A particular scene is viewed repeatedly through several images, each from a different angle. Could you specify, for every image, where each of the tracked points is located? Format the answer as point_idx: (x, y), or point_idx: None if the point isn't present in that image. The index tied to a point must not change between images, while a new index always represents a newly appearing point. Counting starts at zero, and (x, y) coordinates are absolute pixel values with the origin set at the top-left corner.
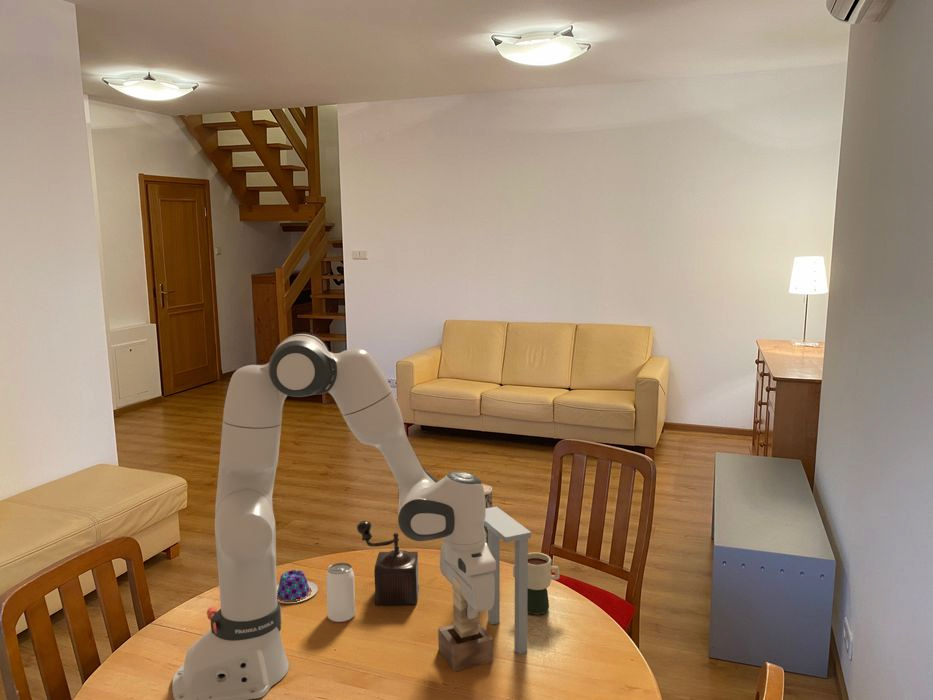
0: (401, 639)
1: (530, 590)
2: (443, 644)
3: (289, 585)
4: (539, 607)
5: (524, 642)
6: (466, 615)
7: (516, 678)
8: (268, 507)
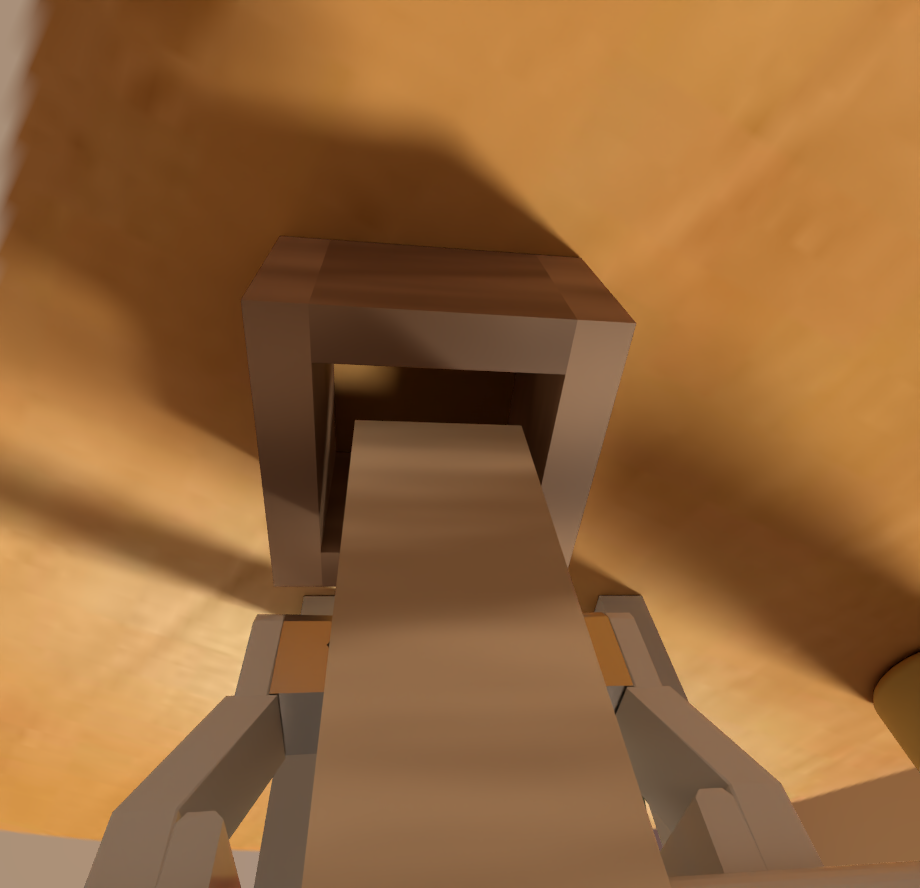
0: (893, 46)
1: None
2: (498, 282)
3: None
4: None
5: None
6: (306, 624)
7: (98, 513)
8: None
